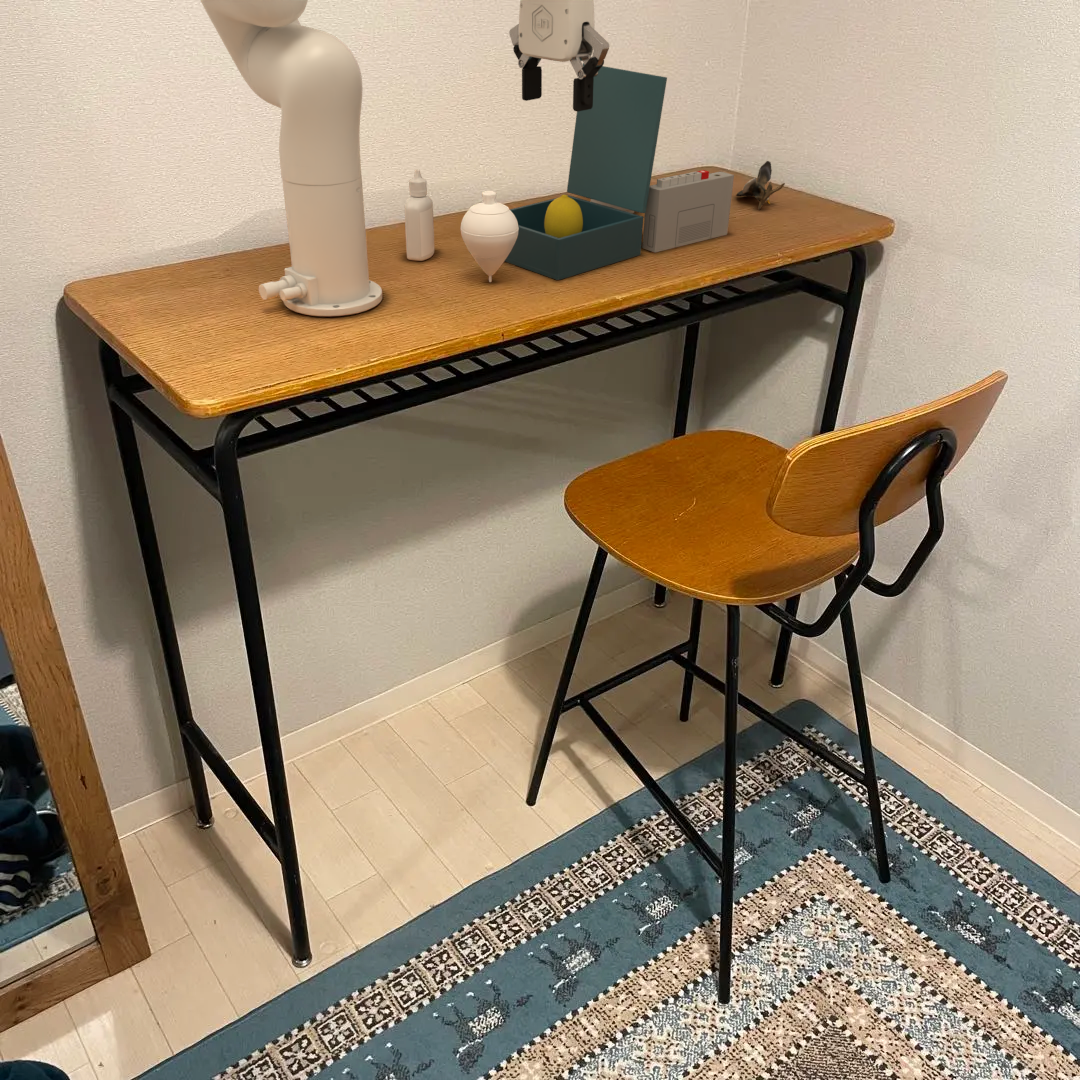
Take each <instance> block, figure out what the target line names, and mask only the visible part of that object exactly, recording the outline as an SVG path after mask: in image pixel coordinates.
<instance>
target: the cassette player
mask: <svg viewBox="0 0 1080 1080" xmlns="http://www.w3.org/2000/svg"><path fill="white" fill-rule="evenodd" d="M734 179H735V174H731V173H728V172H726V171H716V172H712V173H711V172H710V171H709V170H706V169H701V170H695V171H691V172H687V173H682V174H681V173H680V174H676V175H671V176H666V177H661V178H657V179H656V184H652V185H651V184H650V188H649V194H648V200H647V206H646V213H644V216H643V230H642V244H641V249H644V250H646V251H649V252H651V253H659V252H663V251H667V250H671V249H674V248H679V247H682V246H688V245H691V244H694V243H699V242H703V241H708V240H711V239H715V238H719V237H723V236H727V235H728V231H729V224H730V223H729V222H730V214H731V205H732V197H733V188H734Z"/></svg>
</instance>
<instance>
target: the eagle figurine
mask: <svg viewBox="0 0 1080 1080" xmlns="http://www.w3.org/2000/svg"><path fill="white" fill-rule="evenodd" d="M772 171H773V169H772V163H771V161H769V160H766V161H765V162H764V163H763V164H762V165H761V166H760V167H759V170H758V173H757V177H753V178H752V179H750V180H749V181H747V182H746V183H745V184H744V185H743V188H742V189H741V190H740V191H738V192H737V193H736V194H735V196H736V197H754V198H755V199H756V201H758V202H759V203H758V208H757V209H758V210H759V211H760V210H761V208H762V206H764V204H766V203H767V204H768V205H771V202H770V197H771V196H772V195H773V194H774V193H777V192H778V191H780V190H781V189H783V188H784V186H785V185H786V183H785V182H783V183H781V184H780V185H778V186H777V187H775V188H773V184H772V181H771V180H772V179H771V178H772ZM767 184H768V185H767ZM766 185H767V187H766Z"/></svg>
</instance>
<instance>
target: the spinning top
mask: <svg viewBox="0 0 1080 1080" xmlns="http://www.w3.org/2000/svg"><path fill="white" fill-rule="evenodd" d="M497 195H498V193H497V192H496V191H494V190H484V191H482V192H481V200H482V201H481V202H477V203H475V204H473V205H471V206H470V207H469V209H468V210H467V211H466V212H465V214H464V215H463V217H462V219H461V223H460V235H461V238H462V241H463V243H464V245H465V247H466V249H467V251H468V252H469V254H470V255H471V257H472V258H473V259H474V261H475V263H476V264H477V265H478V266H479V268H480V269H481V270H482V272H483V273H485V275H487V276H488V283H492V281H493V280H492V279H493V278H492V277H493V276H494V275H495V274H496V273H497V271H498V270H499V269H500V268H501V266H502V265H503V264H504V262H505V259H506V258H507V256H508V255H509V253H510V252H511V250H512V248H513V246H514V244H515V242H516V239H517V237H518V230H519V227H518V222H517V219H516V217H515V216H514V214H513V213H512V212H511V211H510V210H509V209H510V208H509V206H508V205H505V204H504V203H501V202H498V201H497Z"/></svg>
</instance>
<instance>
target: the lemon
mask: <svg viewBox="0 0 1080 1080" xmlns="http://www.w3.org/2000/svg"><path fill="white" fill-rule="evenodd" d="M567 195H568V194H562V195H560V196H559V197H555V198H556V199H555V198H554V199H555V200H553V201H552V202H551V203H550V205H549V206H548V208H547V211H546V215H545V222H544V226H545V232H546V234H548V235H551V236H554V237H557V238H562V237H565V236H569V235H572V234H576V233H580V232H582V229H583V217H582V212H581V209H580V206H579V205H578V203H577V202H576V201H575V200H573V199H572V198H570V197H568V196H567Z"/></svg>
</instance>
